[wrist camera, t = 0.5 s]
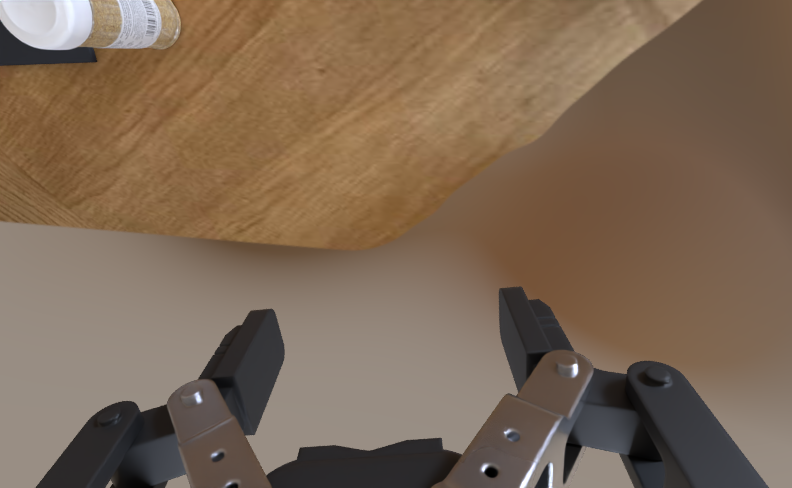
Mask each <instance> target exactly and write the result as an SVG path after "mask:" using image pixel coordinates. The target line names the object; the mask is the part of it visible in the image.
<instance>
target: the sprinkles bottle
mask: <svg viewBox="0 0 792 488" xmlns="http://www.w3.org/2000/svg"><path fill="white" fill-rule="evenodd" d="M0 20H1V22H2V23H3V25H4V26H5V27H6V28H7V29H8V30H9V31H10V32H11V33H12V34H13V35H14V36H15V37H16V38H18V39H19V40H20V41H22V42H24V43H26V44H27V45H29V46H32V47H35V48H39V49H46V50H69V49H73V48H76V47H93V48H153V49H166V48H168V47H170V46H172V45H173V44H174V43H175V42H176V40H177V39H178V37H179V35H180V30H181V26H180V24H181V22H180V17H179V13H178V11H177V9H176V7H175V6H174V4H173V3H172V1H171V0H0Z"/></svg>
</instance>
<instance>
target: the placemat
mask: <svg viewBox="0 0 792 488" xmlns="http://www.w3.org/2000/svg"><path fill="white" fill-rule="evenodd" d="M86 62H97V60H96V56H95V53H94V50H93V47H76V48H73V49H69V50H46V49H39V48H35V47H32V46H29V45H27V44H26V43H24V42H22V41H20V40H19V39H18V38H16V37H15V36H14V35H13V34H12V33H11V32H10V31H9V30H8V29H7V28H6V27H5V26H4V25H3V23H2V22H1V20H0V66H2V65H30V64H58V63H86Z"/></svg>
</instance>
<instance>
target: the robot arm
mask: <svg viewBox="0 0 792 488" xmlns="http://www.w3.org/2000/svg"><path fill="white" fill-rule="evenodd" d="M499 321H500V335H501V340H502V344H503V347H504V350H505V353H506V356H507V359H508V362H509V365H510V369H511V371H512V374H513V378H514V381H515V384H516V387H517V390H518V394H517V396H514V395H512V394H506V395H505V396H504V397H503V398H502V400H501V401H500V402H499V404H498V405H497V407H496V408H495V410H494V411H493V412H492V414H491V415H490V417H489V418H488V419H487V421H486V422H485V424H484V425H483V426H482V428H481V429H480V431H479V432H478V433H477V435H476V436H475V438H474V439H473V440H472V442H471V443H470V445H469V446H468V448H467V449H466V450H465V452H464V453H463V455H462V454H459V453H456V452H453V451H449V450H443V446H442V438H433V439H418V440H406V441H402V442H399V443H395V444H392V445H388V446H385V447H382V448H378V449H375V450H371V451H366V450H359V449H353V448H347V447H341V446H335V445H332V446H317V447H303V448H300V449H299V453H298V457H297V460H295V461H292V462H289V463H287V464H284V465H282V466H281V467H279V468H277V469H275V470H274V471H272V472H270V473H269V474H268V475H265V473H264V471H263V469H262V467H261V465H260V463H259V461H258V459H257V458H256V456H255V454H254V452H253V450H252V448H251V446H250V444H249V442H248V440H247V438H246V437H245V435H255V432H256V430H257V428H258V425H259V423H260V420H261V418H262V415H263V412H264V410H265V407H266V405H267V402H268V400H269V397H270V394H271V392H272V389H273V387H274V384H275V382H276V379H277V376H278V374H279V371H280V369H281V366H282V364H283V361H284V343H283V340H282V336H281V332H280V329H279V325H278V322H277V318H276V314H275V312H274V310H273V309H264V310H254V311H250V313H249V314H248V316H247V317H246V319H245V321H244V322H243V324H242V325H239V326H236V327H235V328H234V329H232V330H231V331H230V332H229V333H228V334H226V335H225V337H224V339H223V340H222V342H221V344H220V347H218V348H217V350H216V351H215V355H213V356H212V358H211V359H210V361H209V362H208V364H207V366H206V367H205V369H204V371H203V372H202V374H201V375H200V377H199V379H198V380H195V381H192V382H189V383H187V384H185V385H183V386H181V387H180V388H178V389H177V390H176V391H175V392H174V393H173V394H172V395H171V396H170V398H169V399H168V402H167V404H166V405H164V406H160V407H157V408H153V409H150V410H147V411H144V412H140V410H139V408H138V406H137V404H136V403H134V402H132V401H122V402H118V403H115V404H112V405H110V406H107V407H105V408H104V409H102V410H100V411H99V412H97V413H96V414H95V415H94V416H92V417H91V418H90V419H89V420H88V422H87V423H86V424H85V425H84V427H83V428H82V429H81V430H80V432H79V433H78V434H77V435H76V437H75V438H74V439H73V441H72V442H71V443H70V444H69V446H68V447H67V448H66V450H65V451H64V452H63V453H62V455H61V456H60V457H59V458H58V460H57V461H56V463H55V464H54V465H53V466H52V467H51V469H50V470H49V471H48V472H47V474H46V475H45V476H44V478H43V479H42V480H41V481H40V483H39V484H38V485H37V486H36V488H105V487H106V485H107V484H108V482H109V481H110V479H111V481H112V483H113V484H112V485H111V487H110V488H165V486H166V484H167V482H168V480H171V479H173V478H176V477H179V476H182V475H185V474H187V477H188V480H189V484H190V487H191V488H569V486H570V483H571V481H572V479H573V477H574V474H575V472H576V470H577V467H578V465H579V463H580V461H581V458H582V456H583V454H584V452H585V449H586V447H591V448H595V449H600V450H605V451H610V452H615V453H619V454H620V457H621V459H622V461H623V463H624V465H625V468H626V470H627V472H628V474H629V476H630V479H631V481H632V483H633V485H634V487H635V488H769V487H768V486H767V485H766V483H765V482H764V481H763V479H762V478H761V477H760V476H759V474H758V473H757V471H756V470H755V469H754V467H753V466H752V465H751V464H750V462H749V461H748V460H747V458H746V457H745V456H744V454H743V453H742V452H741V450H740V449H739V448H738V446H737V445H736V444H735V442H734V441H733V440H732V438H731V437H730V436H729V434H727V432H726V431H725V429H724V428H723V427H722V425H721V424H720V423H719V421H718V420H717V419H716V417H715V416H714V415H713V414H712V412H711V411H710V409H709V408H708V407H707V405H706V404H705V403H704V401H703V400H702V399H701V398H700V396H699V395H698V394H697V393H696V391H695V390H694V388H693V387H692V386H691V384H690V383H689V382H688V380H687V379H686V378H685V377H684V375H683V374H682V373H680V372H679V371H678V370H676V369H675V368H673V367H671V366H668V365H666V364H663V363H659V362H654V361H640V362H637V363H634V364H632V365H631V366H630V367H629V368H628V370H627V374H621V373H614V372H607V371H602V370H599V369H596V368H593V365H592V363H591V362H590V361H589V360H588V359H587V358H586V357H585V356H583V355H581V354H579V353H576V352H575V351H574V350H573V348H572V346H571V344H570V342H569V341H568V339H567V337H566V335H565V334H564V332H563V330H562V328H561V326H559V323H558V321H557V319H556V318H555V316H554V314H553V312H552V310H551V309H550V307H549V306H547V305H546V304H545V303H543V302H542V301H540V300H539V299H536V300H528V299H527V296H526V294H525V292H524V290H523V288H522V287H510V288H500V289H499Z"/></svg>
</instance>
